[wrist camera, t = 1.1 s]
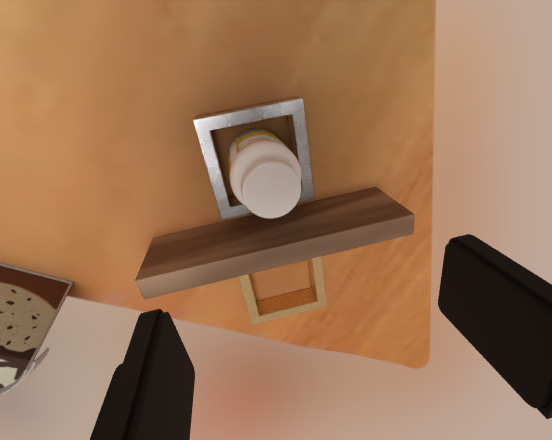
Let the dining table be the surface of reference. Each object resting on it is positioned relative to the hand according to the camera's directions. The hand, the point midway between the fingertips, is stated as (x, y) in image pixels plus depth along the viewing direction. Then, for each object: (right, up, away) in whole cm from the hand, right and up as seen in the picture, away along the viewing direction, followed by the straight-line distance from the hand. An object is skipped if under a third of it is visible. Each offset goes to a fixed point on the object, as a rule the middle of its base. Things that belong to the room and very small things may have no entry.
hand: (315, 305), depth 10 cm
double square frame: (-2, +3, +21) cm, 21 cm away
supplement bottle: (-3, +9, +18) cm, 21 cm away
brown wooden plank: (-2, +3, +21) cm, 21 cm away
